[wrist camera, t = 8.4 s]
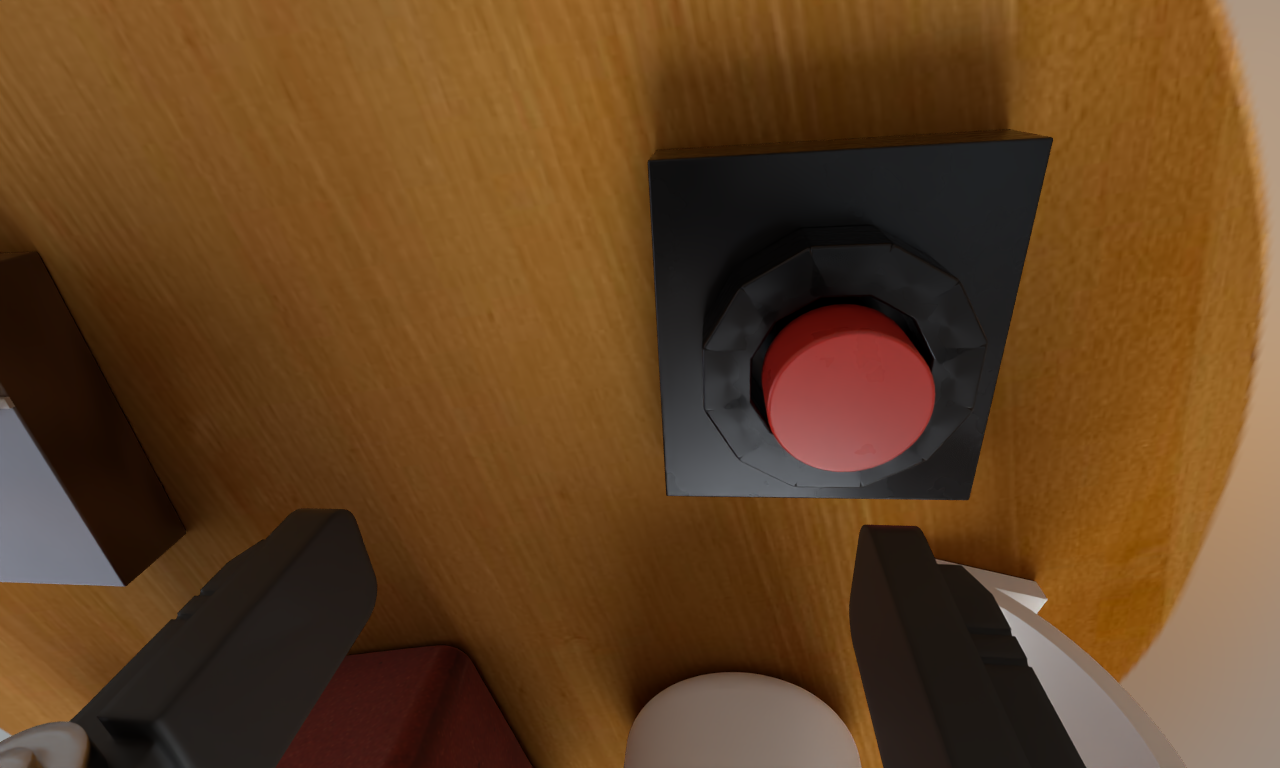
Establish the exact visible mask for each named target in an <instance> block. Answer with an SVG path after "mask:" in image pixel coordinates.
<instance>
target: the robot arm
mask: <svg viewBox="0 0 1280 768" xmlns="http://www.w3.org/2000/svg"><path fill="white" fill-rule="evenodd" d="M376 596H377V581H376V576H375V573H374V571H373V568H372V565H371V562H370V559H369V556H368V553H367V551H366V548H365V545H364V542H363V539H362V536H361V533H360V530H359V528H358V525H357V522H356V519H355V517H354V516H353V514H352V513H351V512H350V511H348V510H344V509H311V508H301V509H297V510H295V511H293V512H292V513H291V514H290V515H288V516H287V517H286V518H285V520H284V521H283V522H282V523H281V524H280V525H279V526H278V527H277V528H276V529H275V530H274V531H273V532H272V533H271V534H270V535H269V536H268V537H267V538H266V539H265V540H261V541H260V542H258V543H257V544H255V545H254V546H252V547H251V548H249V549H247V550H246V551H244V552H243V553H241V554H240V555H238V556H237V557H235V558H234V559H232V560H231V561H229V562H228V563H227V564H226V565H225V566H224V567H223V568H222V569H221V570H220V571H219V572H218V573H217V574H216V575H215V576H214V577H213V578H212V579H211V580H210V581H209V582H208V583H207V584H206V585H205V586H204V587H203V588H202V589H201V593H200V595H199V596H194V597H193V598H192V599H191V600H190V601H189V602H188V603H187V604H186V605H185V606H184V607H183V608H182V609H181V610H180V611H179V612H178V613H177V614H178V616H177V618H176V619H175V620H174V619H171V620H170V621H169V622H168V623H167V624H166V625H165V626H164V627H163V628H162V629H161V630H160V631H159V632H158V633H157V634H156V635H155V636H154V637H153V638H152V639H151V640H150V641H149V642H148V643H147V644H146V645H145V646H144V647H143V648H142V649H141V650H140V652H139V653H138V654H137V655H136V656H135V657H134V658H133V659H132V660H131V661H130V662H129V663H128V664H127V665H126V666H125V667H124V668H123V669H122V670H121V671H120V672H119V673H118V674H117V675H116V676H115V677H114V678H113V679H112V680H111V681H110V682H109V683H108V684H107V685H106V686H105V687H104V688H103V689H102V690H101V691H100V692H99V693H98V694H97V695H96V696H95V697H94V698H93V699H92V700H91V701H90V702H89V703H88V704H87V705H86V706H85V707H84V708H83V709H82V710H81V711H80V712H79V713H78V714H77V715H76V716H75V717H74V718H73V719H71V720H70V721H69V722H52V723H46V724H43V725H39V726H35V727H32V728H30V729H27V730H24V731H22V732H20V733H17V734H15V735H13V736H11V737H9V738H7V739H5V740H3V741H1V742H0V768H275V767H276V766H277V764H278V763H279V761H280V760H281V758H282V756H283V755H284V753H285V752H286V750H287V748H288V747H289V745H290V744H291V742H292V740H293V739H294V737H295V736H296V734H297V733H298V731H299V729H300V728H301V726H302V725H303V723H304V721H305V720H306V718H307V717H308V715H309V713H310V712H311V710H312V709H313V707H314V705H315V704H316V702H317V701H318V699H319V698H320V696H321V694H322V693H323V691H324V690H325V688H326V686H327V685H328V683H329V682H330V680H331V678H332V677H333V675H334V674H335V672H336V670H337V669H338V667H339V666H340V664H341V663H342V661H343V659H344V658H345V656H346V655H347V653H348V651H349V650H350V648H351V647H352V645H353V643H354V642H355V640H356V639H357V637H358V636H359V634H360V632H361V631H362V629H363V628H364V626H365V624H366V623H367V621H368V620H369V618H370V616H371V614H372V611H373V609H374V606H375V602H376ZM849 617H850V629H851V637H852V642H853V647H854V651H855V655H856V659H857V663H858V667H859V671H860V675H861V679H862V683H863V687H864V691H865V695H866V699H867V703H868V707H869V711H870V715H871V719H872V723H873V727H874V731H875V735H876V739H877V743H878V747H879V751H880V755H881V759H882V763H883V767H884V768H1086V766H1085V764H1084V763H1083V761H1082V759H1081V757H1080V755H1079V753H1078V751H1077V750H1076V748H1075V746H1074V744H1073V742H1072V740H1071V738H1070V737H1069V735H1068V733H1067V731H1066V729H1065V727H1064V726H1063V724H1062V722H1061V720H1060V718H1059V716H1058V714H1057V713H1056V711H1055V709H1054V707H1053V705H1052V703H1051V701H1050V700H1049V698H1048V696H1047V694H1046V692H1045V690H1044V689H1043V687H1042V685H1041V683H1040V681H1039V679H1038V677H1037V676H1036V674H1035V672H1034V670H1033V668H1032V667H1029V666H1028V663H1027V657H1026V655H1025V653H1024V652H1023V650H1022V648H1021V646H1020V644H1019V642H1018V640H1017V639H1016V637H1015V636H1012V633H1011V627H1010V626H1009V624H1008V622H1007V620H1006V618H1005V616H1004V615H1003V613H1002V611H1001V609H1000V607H999V605H998V603H997V602H996V600H995V598H994V596H993V594H992V593H991V592H990V591H988V590H987V589H986V588H985V587H984V586H983V585H982V584H981V583H980V582H979V581H978V580H977V579H976V578H975V577H974V576H972V575H971V574H970V573H969V572H968V571H967V570H966V569H965V568H964V567H963V566H962V565H951V564H937V562H936V560H935V558H934V555H933V553H932V551H931V549H930V547H929V545H928V542H927V540H926V538H925V536H924V534H923V532H922V531H921V529H920V528H919V527H917V526H891V525H863V526H862V528H861V530H860V534H859V540H858V546H857V553H856V560H855V567H854V574H853V581H852V588H851V594H850V604H849Z"/></svg>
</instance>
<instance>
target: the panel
mask: <svg viewBox="0 0 1280 768" xmlns="http://www.w3.org/2000/svg"><path fill="white" fill-rule="evenodd" d="M185 534H186V531H185V529H184V527H183V525H182V523H181V521H180V519H179V517H178V515H177V514H176V512H175V510H174V508H173V506H172V504H171V502H170V500H169V499H168V497H167V495H166V493H165V491H164V489H163V487H162V485H161V484H160V482H159V480H158V478H157V476H156V474H155V472H154V470H153V469H152V467H151V465H150V463H149V461H148V459H147V457H146V455H145V454H144V452H143V450H142V448H141V446H140V444H139V442H138V440H137V439H136V437H135V435H134V433H133V431H132V429H131V427H130V425H129V423H128V422H127V420H126V418H125V416H124V414H123V412H122V410H121V408H120V407H119V405H118V403H117V401H116V399H115V397H114V395H113V393H112V392H111V390H110V388H109V386H108V384H107V382H106V380H105V378H104V377H103V375H102V373H101V371H100V369H99V367H98V365H97V363H96V362H95V360H94V358H93V356H92V354H91V352H90V350H89V348H88V347H87V345H86V343H85V341H84V339H83V337H82V335H81V333H80V331H79V330H78V328H77V326H76V324H75V322H74V320H73V318H72V316H71V315H70V313H69V311H68V309H67V307H66V305H65V303H64V301H63V300H62V298H61V296H60V294H59V292H58V290H57V288H56V286H55V285H54V283H53V281H52V279H51V277H50V275H49V273H48V271H47V270H46V268H45V266H44V264H43V262H42V260H41V258H40V256H39V254H38V253H37V252H14V253H0V582H19V583H46V584H73V585H100V586H127V585H128V584H129V583H130V582H132V581H133V580H134V579H135V578H136V577H137V576H138V575H140V574H141V573H142V572H143V571H144V570H145V569H146V568H148V567H149V566H150V565H151V564H152V563H153V562H154V561H156V560H157V559H158V558H159V557H160V556H161V555H162V554H164V553H165V552H166V551H167V550H168V549H169V548H170V547H172V546H173V545H174V544H175V543H176V542H177V541H178V540H180V539H181V538H182V537H183V536H184V535H185Z"/></svg>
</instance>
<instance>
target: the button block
mask: <svg viewBox="0 0 1280 768" xmlns="http://www.w3.org/2000/svg"><path fill="white" fill-rule="evenodd" d="M1052 142H1053V138H1052V137H1048V136H1042V135H1037V134H1031V133H1026V132H1021V131H1015V130H1010V129H1006V130H989V131H972V132H955V133H938V134H920V135H903V136H886V137H869V138H852V139H835V140H818V141H801V142H783V143H766V144H749V145H732V146H715V147H698V148H681V149H664V150H656V151H655V152H654V153H653V155H652V156H651V157H650V159H649V160H648V178H649V195H650V213H651V231H652V249H653V267H654V285H655V302H656V320H657V338H658V356H659V374H660V391H661V409H662V427H663V445H664V463H665V481H666V495H667V496H708V497H779V498H850V499H921V500H969V497H970V493H971V489H972V485H973V480H974V476H975V472H976V467H977V463H978V459H979V455H980V450H981V446H982V442H983V437H984V433H985V429H986V425H987V420H988V416H989V412H990V407H991V403H992V399H993V395H994V390H995V386H996V382H997V377H998V373H999V369H1000V365H1001V360H1002V356H1003V352H1004V347H1005V343H1006V339H1007V335H1008V330H1009V326H1010V322H1011V317H1012V313H1013V309H1014V305H1015V300H1016V296H1017V292H1018V287H1019V283H1020V279H1021V275H1022V270H1023V266H1024V262H1025V257H1026V253H1027V249H1028V245H1029V240H1030V236H1031V232H1032V227H1033V223H1034V219H1035V215H1036V210H1037V206H1038V202H1039V197H1040V193H1041V189H1042V185H1043V180H1044V176H1045V172H1046V168H1047V163H1048V159H1049V155H1050V150H1051V146H1052ZM835 304H855V305H861V306H865V307H869V308H872V309H875V310H877V311H879V312H881V313H883V314H885V315H886V316H888V317H889V318H891V319H892V320H893V321H894V322H895V323H897V324H898V325H899V327H900V328H901V329H902V330H903V331H904V333H905V334H906V335H907V337H908V338H909V339H910V341H911V342H912V343H913V345H914V346H915V347H916V349H917V350H918V351H919V353H920V354H921V355H922V357H923V358H924V360H925V361H926V363H927V364H928V366H929V368H930V370H931V373H932V375H933V379H934V384H935V404H934V408H933V412H932V415H931V418H930V420H929V423H928V425H927V426H926V428H925V430H924V431H923V433H922V434H921V435H920V437H919V438H918V439H917V440H916V441H915V442H914V443H913V444H912V445H911V446H910V447H909V448H908V449H907V450H906V451H904V452H903V453H902V454H900V455H899V456H897V457H895V458H894V459H892V460H890V461H888V462H886V463H884V464H881V465H879V466H876V467H873V468H869V469H865V470H860V471H853V472H834V471H827V470H822V469H818V468H815V467H812V466H809V465H807V464H805V463H803V462H801V461H799V460H798V459H796V458H795V457H793V456H792V455H791V454H789V453H788V452H787V451H786V450H785V449H784V448H783V447H782V446H781V445H780V444H779V442H778V441H777V440H776V438H775V436H774V435H773V433H772V431H771V428H770V425H769V422H768V417H767V412H766V406H765V400H764V394H763V387H762V377H761V373H762V365H763V361H764V357H765V355H766V352H767V350H768V348H769V346H770V344H771V343H772V341H773V340H774V338H775V337H776V336H777V335H778V333H779V332H780V331H781V330H782V329H783V328H784V327H785V326H786V325H788V324H789V323H790V322H791V321H793V320H794V319H796V318H797V317H799V316H801V315H802V314H805V313H807V312H809V311H811V310H814V309H817V308H820V307H824V306H829V305H835Z"/></svg>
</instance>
